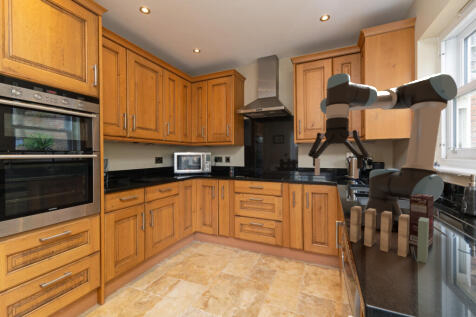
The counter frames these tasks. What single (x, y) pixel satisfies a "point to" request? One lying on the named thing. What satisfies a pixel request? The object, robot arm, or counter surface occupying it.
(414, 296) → the counter surface
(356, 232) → the birch domino
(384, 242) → the birch domino
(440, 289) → the counter surface
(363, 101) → the robot arm
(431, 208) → the supplement box
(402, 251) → the birch domino
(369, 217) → the birch domino
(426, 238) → the grey-green domino
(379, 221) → the perforated stone tool
